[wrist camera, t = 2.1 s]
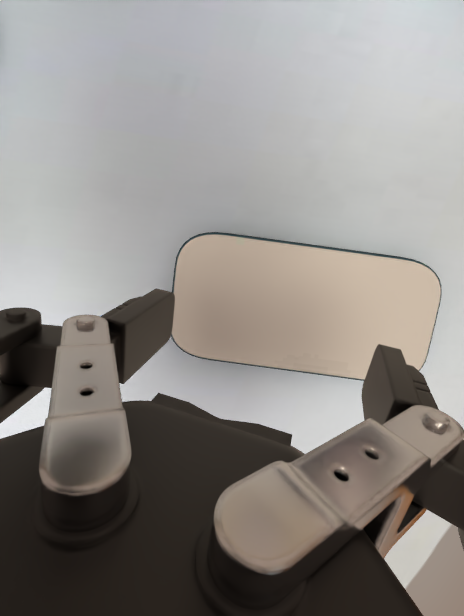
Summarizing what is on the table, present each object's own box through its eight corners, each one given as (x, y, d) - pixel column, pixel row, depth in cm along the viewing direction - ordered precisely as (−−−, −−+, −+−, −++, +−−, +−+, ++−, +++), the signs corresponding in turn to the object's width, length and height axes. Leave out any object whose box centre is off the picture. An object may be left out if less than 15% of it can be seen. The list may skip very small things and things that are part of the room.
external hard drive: (437, 262, 32) (451, 263, 30) (410, 381, 33) (421, 389, 32) (181, 227, 31) (178, 226, 29) (168, 349, 33) (164, 355, 31)
